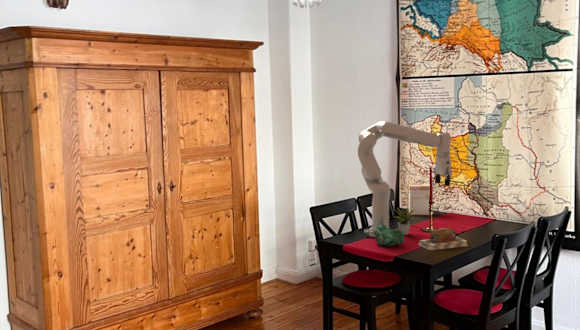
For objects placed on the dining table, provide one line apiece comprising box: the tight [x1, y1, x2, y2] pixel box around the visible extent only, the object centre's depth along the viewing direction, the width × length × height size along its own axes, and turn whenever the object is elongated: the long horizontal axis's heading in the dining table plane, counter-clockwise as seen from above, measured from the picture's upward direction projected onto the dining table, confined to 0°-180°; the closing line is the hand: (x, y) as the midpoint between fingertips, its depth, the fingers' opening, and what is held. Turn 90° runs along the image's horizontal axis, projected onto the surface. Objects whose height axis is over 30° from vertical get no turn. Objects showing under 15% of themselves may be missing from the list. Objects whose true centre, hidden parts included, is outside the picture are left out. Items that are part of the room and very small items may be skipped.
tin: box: [429, 227, 457, 244], centre depth 316 cm, size 15×3×8 cm, turn 108°
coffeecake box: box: [408, 183, 434, 216], centre depth 391 cm, size 15×7×20 cm, turn 84°
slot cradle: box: [417, 236, 469, 251], centre depth 316 cm, size 23×12×3 cm, turn 109°
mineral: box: [373, 224, 405, 247], centre depth 319 cm, size 18×16×10 cm
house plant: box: [394, 205, 416, 236], centre depth 340 cm, size 14×14×16 cm
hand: (442, 184), depth 339 cm, fingers open, 9 cm apart
